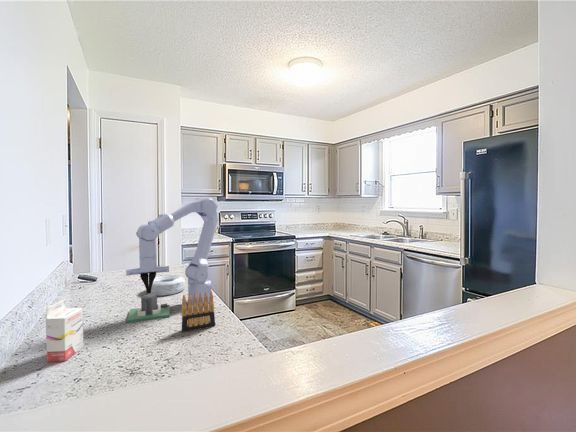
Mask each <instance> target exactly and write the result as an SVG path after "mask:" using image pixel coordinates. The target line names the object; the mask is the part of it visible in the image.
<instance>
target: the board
mask: <svg viewBox="0 0 576 432" xmlns="http://www.w3.org/2000/svg"><path fill="white" fill-rule="evenodd" d="M170 317H171V316H170V304H168V303H162V304H161V303H157V310H153V314H147V315H146V312H145V311H142V308H141V305H140V306H139V305H138V307H137V308H131V309H129V313H128V315H127V319H126V324H131V323H137V322H139V323H140V322H144V321H145V322H146V321H151V320H158V319H159V320H160V319H166V318H170Z"/></svg>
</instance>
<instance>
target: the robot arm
mask: <svg viewBox="0 0 576 432" xmlns="http://www.w3.org/2000/svg"><path fill="white" fill-rule="evenodd" d="M217 210H218V205H217V203H216V201H215V200H214V199H213V198H210V197H207V198H206V197H205V198H200V197H199V198H195V199H194V200H191V201H189V202H188V203H186V204H184V205H183V206H182V207H179V208H178V209H177V210H175V211H173V212H172V213H170V214H169V213H160V214H158V217H156V218H155V219H153V220H149V221H147V224H142V225H140V226H138V229H137V230H136V232H135V234H136V236H137V238H138V255H139V267H137V268H136V267H135V268H130V269H129V268H128V269H126V271H125V272H126V273H125V276H126V277H127V276H128V277H129V276H134V275H136V276H137V275H139V276H140V277H139V278H140V280H141V281H142V283H143V284H144V287H145V290H146V294H148V293H151V288H152V284H153V281H154V279H155V278H156V277H157V274H159V273H169V272H170V266H169V265H168V266H167V265H166V266H157V244H156V239H157V238H158V236H159V235H161V234H162V233H164V232H166V231H167V230H169V229H170V228H172V227H174V225H175V222H176V221H178V220H180V219H182V218H185V216H188V215H190V214H192V213H196V214H198V215H199V216H200V218H201V220H203V224H202V229H201V232H200V236H199V239H198V243H197V245H196V246H197V247H196V250H195V253H194V256H193V258H192V259H191V260H190V261H189V264H188V265H187V266H186V269H184V270H185V271H184V272H185V273H184V274H185V277H186V278H187V291H188V292H187V295H188V296H189V294H190V295H191V300H192V307H193V298H194V294H196V296H197V304H199V294H200V292H201V294H202V301H203V305H204V295H205V292H206V293H207V296H208V304H209V299H210V292H211V291H213V290H212V281H211V280H208V277H209V275H210V273H209V267H210V264H209V262H208V259H209V253H210V251H211V247H212V242H213V239H214V236H215V232H216V228H217V226H218V221H219V218H218V211H217ZM148 281H149V284H148ZM186 304H188V299H186Z"/></svg>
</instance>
